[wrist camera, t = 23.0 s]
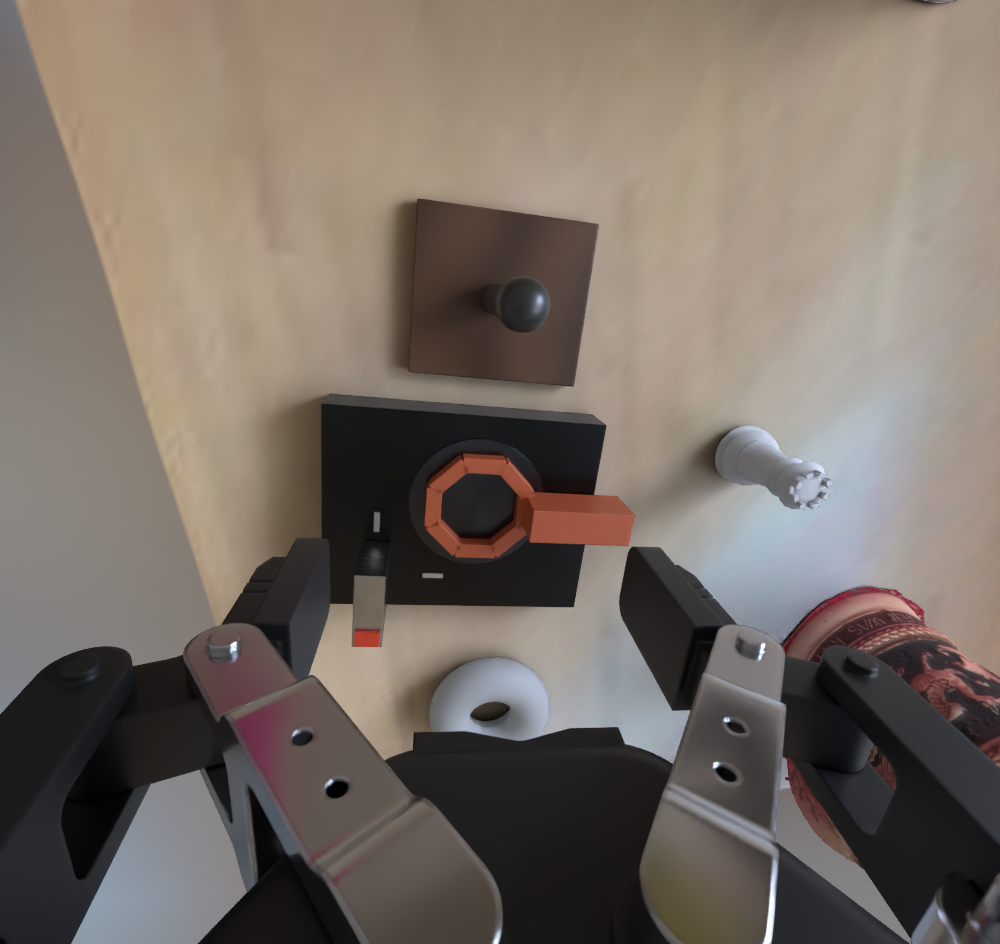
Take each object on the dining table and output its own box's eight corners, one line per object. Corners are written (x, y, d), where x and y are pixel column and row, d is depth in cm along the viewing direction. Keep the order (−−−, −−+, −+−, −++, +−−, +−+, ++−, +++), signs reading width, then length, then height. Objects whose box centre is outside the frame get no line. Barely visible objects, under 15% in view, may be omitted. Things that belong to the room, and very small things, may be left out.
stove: (592, 414, 37) (607, 425, 34) (559, 608, 42) (570, 632, 39) (312, 392, 34) (301, 402, 31) (314, 604, 39) (304, 630, 36)
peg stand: (594, 225, 33) (688, 193, 21) (570, 384, 36) (639, 431, 24) (417, 200, 31) (413, 150, 19) (408, 369, 34) (400, 413, 22)
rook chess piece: (778, 443, 40) (860, 479, 32) (739, 489, 40) (811, 535, 33) (738, 412, 38) (814, 443, 31) (699, 461, 39) (764, 502, 32)
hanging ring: (422, 549, 35) (422, 574, 32) (428, 451, 33) (429, 467, 30) (605, 555, 37) (621, 578, 34) (624, 463, 35) (642, 479, 32)
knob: (362, 540, 34) (353, 577, 30) (390, 541, 35) (385, 578, 30) (360, 604, 36) (351, 649, 31) (386, 605, 36) (381, 649, 32)
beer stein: (919, 581, 49) (765, 572, 44) (1549, 856, 23) (1343, 908, 18) (866, 731, 53) (716, 738, 48) (1362, 1119, 27) (1145, 1225, 22)
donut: (555, 650, 44) (437, 644, 41) (566, 679, 40) (439, 675, 38) (531, 742, 47) (420, 740, 45) (540, 775, 43) (421, 776, 41)
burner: (551, 443, 34) (552, 443, 34) (534, 564, 37) (534, 565, 37) (412, 433, 32) (412, 434, 32) (405, 561, 35) (405, 561, 35)
